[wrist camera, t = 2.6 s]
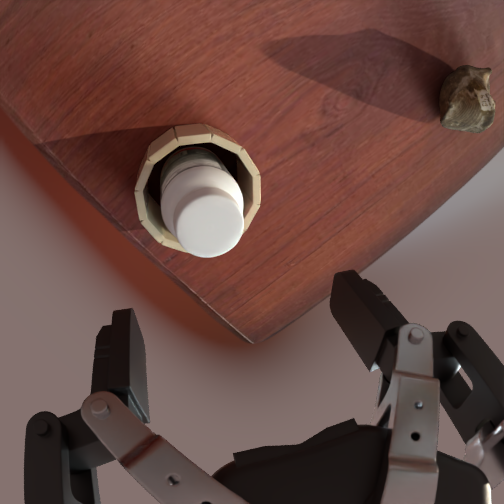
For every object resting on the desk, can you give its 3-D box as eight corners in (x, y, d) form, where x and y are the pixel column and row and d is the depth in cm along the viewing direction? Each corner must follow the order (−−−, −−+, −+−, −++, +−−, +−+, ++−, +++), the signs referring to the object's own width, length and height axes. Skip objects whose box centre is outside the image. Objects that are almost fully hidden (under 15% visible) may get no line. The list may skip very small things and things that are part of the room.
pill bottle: (226, 200, 28) (257, 259, 20) (165, 210, 27) (171, 276, 19) (221, 140, 25) (253, 175, 17) (155, 150, 24) (153, 192, 16)
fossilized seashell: (486, 53, 23) (424, 62, 24) (524, 91, 20) (465, 105, 22) (473, 95, 30) (416, 110, 31) (503, 133, 27) (448, 152, 28)
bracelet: (125, 204, 25) (119, 231, 21) (166, 107, 22) (167, 114, 18) (216, 236, 29) (226, 265, 25) (261, 150, 26) (282, 166, 22)
